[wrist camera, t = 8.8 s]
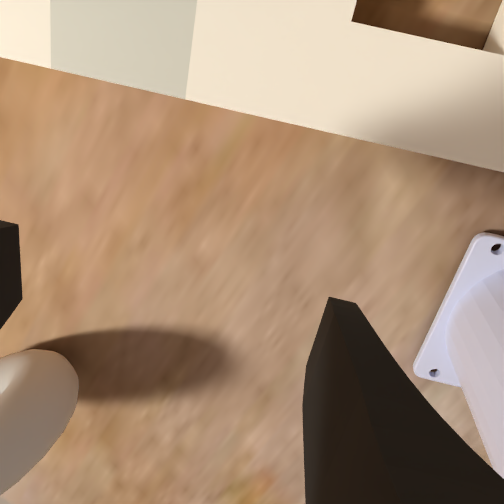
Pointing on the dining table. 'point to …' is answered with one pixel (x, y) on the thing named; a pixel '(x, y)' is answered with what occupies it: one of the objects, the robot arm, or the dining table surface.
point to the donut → (32, 409)
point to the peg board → (280, 66)
